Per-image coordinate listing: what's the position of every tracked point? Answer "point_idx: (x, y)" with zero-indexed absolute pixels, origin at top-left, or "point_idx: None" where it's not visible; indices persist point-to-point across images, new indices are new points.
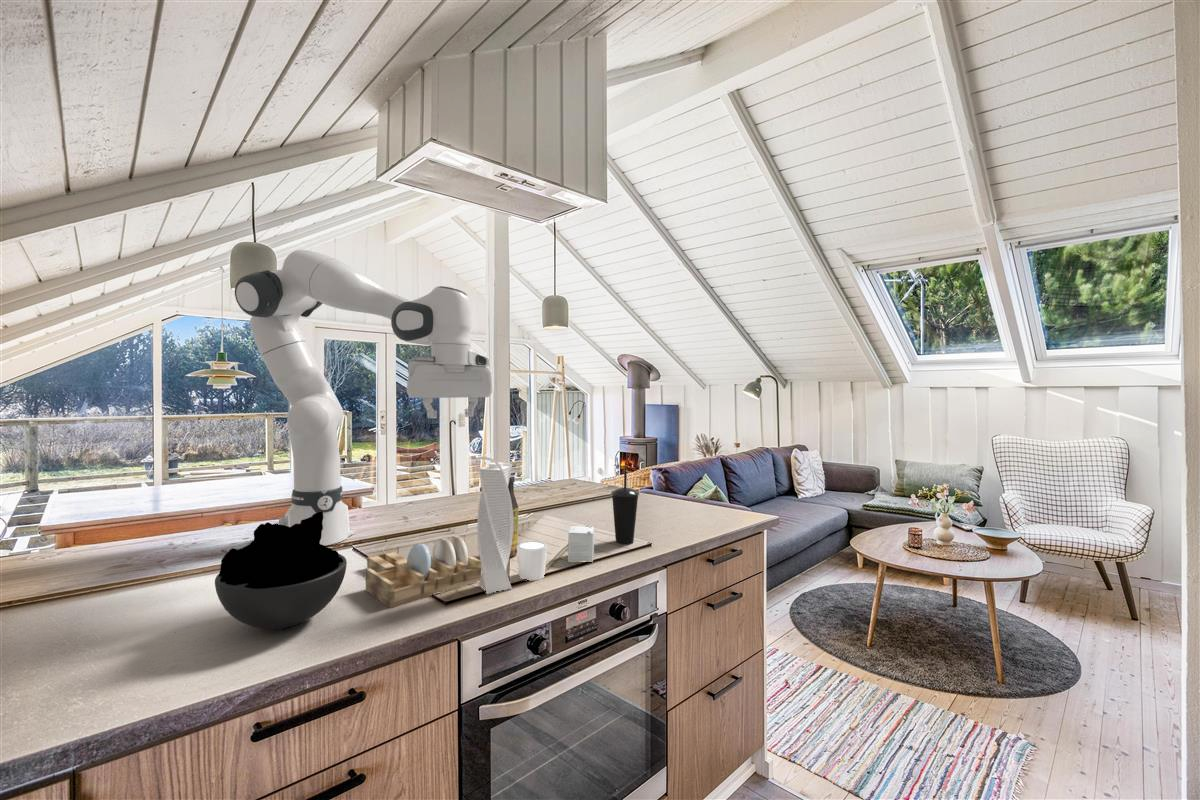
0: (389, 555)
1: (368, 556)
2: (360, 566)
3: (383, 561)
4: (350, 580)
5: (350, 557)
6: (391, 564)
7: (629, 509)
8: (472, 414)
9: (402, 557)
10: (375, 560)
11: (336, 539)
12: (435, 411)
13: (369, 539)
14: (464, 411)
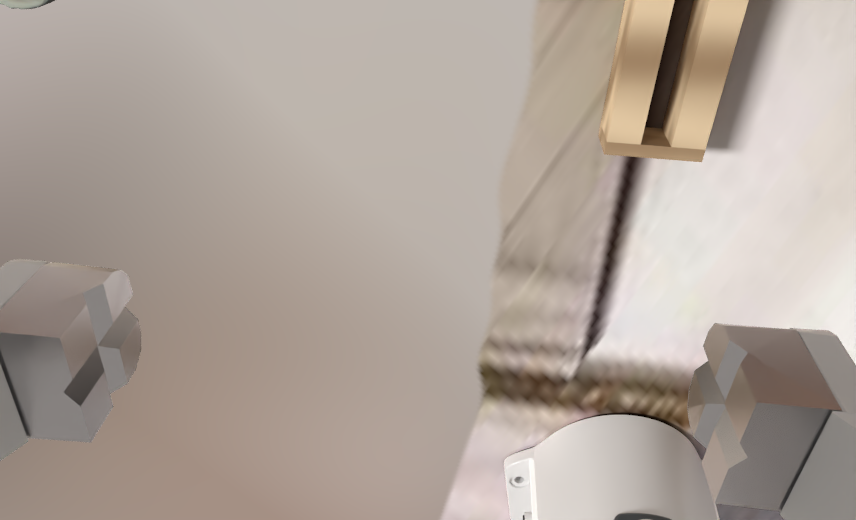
0: (642, 116)
1: (697, 161)
2: (687, 181)
3: (703, 67)
4: (802, 77)
5: (650, 281)
6: (710, 8)
7: None
8: (21, 272)
9: (627, 56)
10: (712, 101)
11: (598, 426)
12: (786, 390)
13: (503, 389)
14: (108, 411)
